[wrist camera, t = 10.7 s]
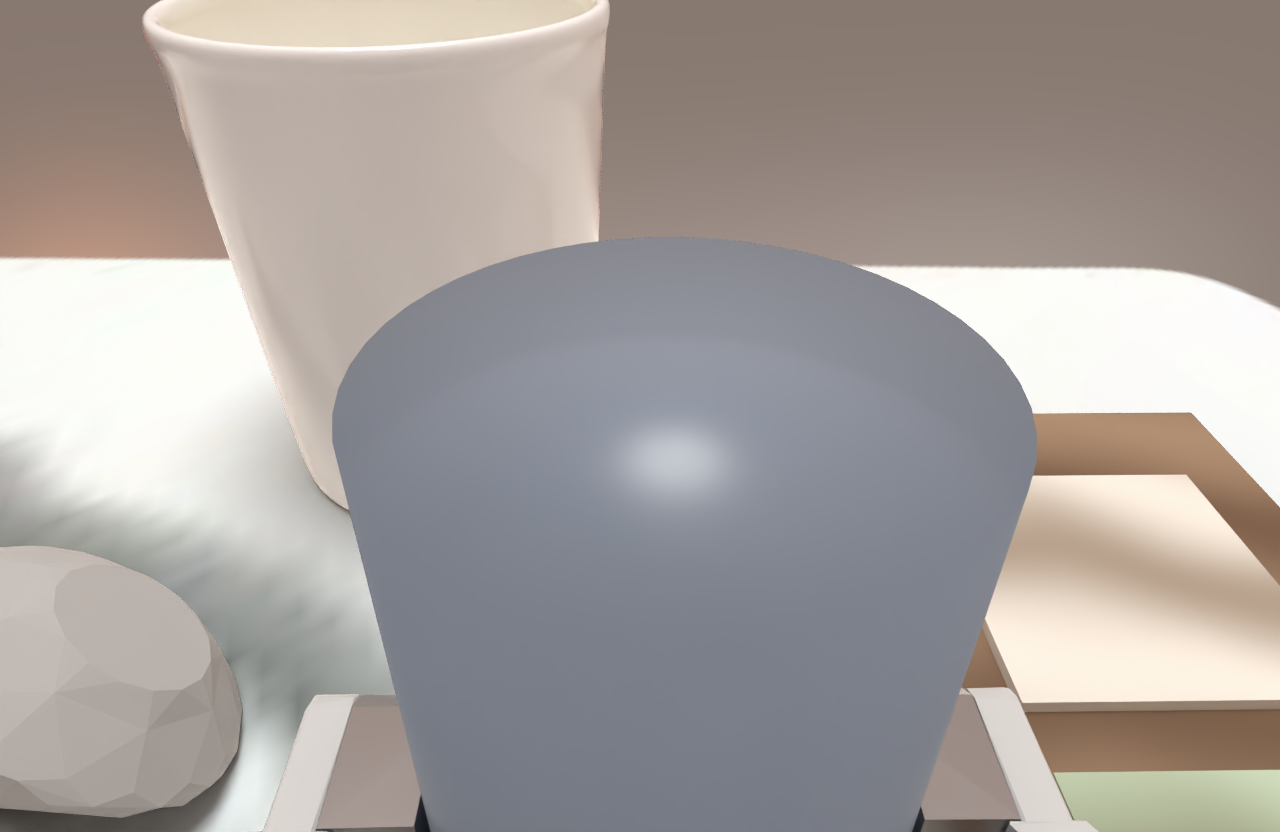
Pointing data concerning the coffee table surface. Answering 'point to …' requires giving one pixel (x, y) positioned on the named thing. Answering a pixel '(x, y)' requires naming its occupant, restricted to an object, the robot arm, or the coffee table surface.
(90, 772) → the gemstone
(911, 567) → the post
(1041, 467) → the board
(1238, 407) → the coffee table surface
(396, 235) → the candle holder
